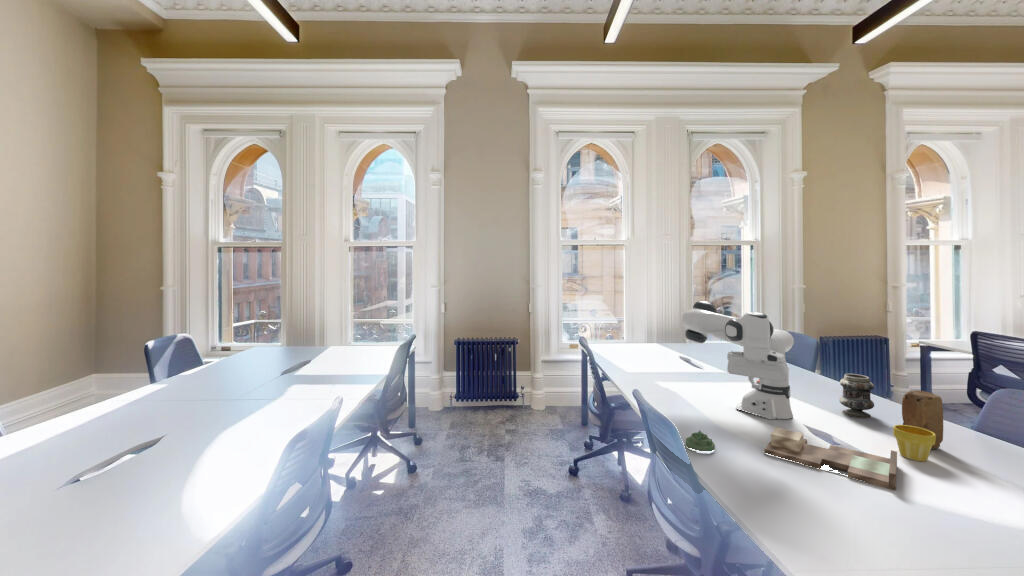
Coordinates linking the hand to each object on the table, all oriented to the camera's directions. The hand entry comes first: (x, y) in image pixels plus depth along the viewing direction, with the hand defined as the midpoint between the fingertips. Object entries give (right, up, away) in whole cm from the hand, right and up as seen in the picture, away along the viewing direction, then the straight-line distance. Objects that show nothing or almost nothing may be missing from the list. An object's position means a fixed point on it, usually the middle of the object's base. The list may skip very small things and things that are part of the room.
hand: (756, 388), depth 150 cm
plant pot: (+47, -21, -14) cm, 53 cm away
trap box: (+16, -21, -15) cm, 30 cm away
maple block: (+7, -19, -7) cm, 22 cm away
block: (+60, -20, -5) cm, 63 cm away
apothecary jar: (+63, -19, +26) cm, 71 cm away
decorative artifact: (-24, -22, -4) cm, 33 cm away
